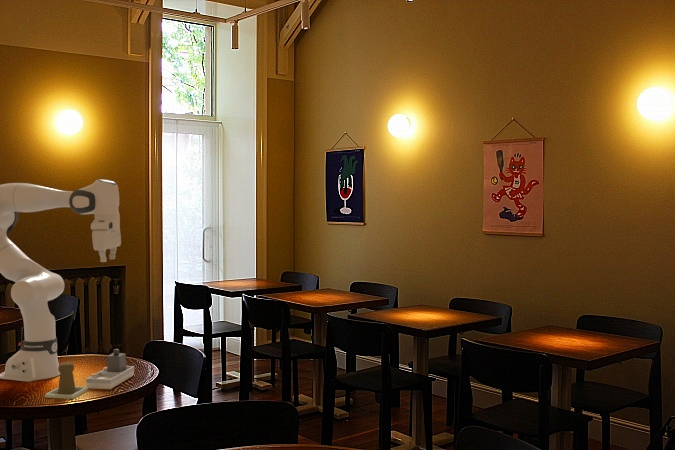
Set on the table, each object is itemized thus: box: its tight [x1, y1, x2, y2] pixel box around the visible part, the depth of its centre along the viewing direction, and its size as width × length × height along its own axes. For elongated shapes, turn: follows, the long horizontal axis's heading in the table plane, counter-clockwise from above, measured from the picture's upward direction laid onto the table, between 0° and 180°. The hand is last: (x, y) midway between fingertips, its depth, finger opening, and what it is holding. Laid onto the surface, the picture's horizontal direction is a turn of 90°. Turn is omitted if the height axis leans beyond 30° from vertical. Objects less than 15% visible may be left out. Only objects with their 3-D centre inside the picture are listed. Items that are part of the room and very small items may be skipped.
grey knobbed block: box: [106, 348, 127, 372], centre depth 272 cm, size 5×5×9 cm
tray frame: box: [44, 386, 89, 400], centre depth 252 cm, size 10×10×1 cm
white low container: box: [85, 365, 135, 390], centre depth 268 cm, size 10×19×4 cm, turn 171°
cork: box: [57, 361, 77, 395], centre depth 252 cm, size 6×6×11 cm
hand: (108, 260), depth 268 cm, fingers open, 8 cm apart
